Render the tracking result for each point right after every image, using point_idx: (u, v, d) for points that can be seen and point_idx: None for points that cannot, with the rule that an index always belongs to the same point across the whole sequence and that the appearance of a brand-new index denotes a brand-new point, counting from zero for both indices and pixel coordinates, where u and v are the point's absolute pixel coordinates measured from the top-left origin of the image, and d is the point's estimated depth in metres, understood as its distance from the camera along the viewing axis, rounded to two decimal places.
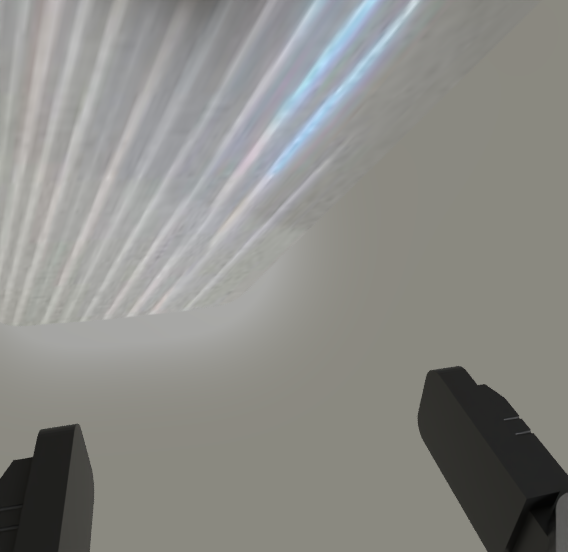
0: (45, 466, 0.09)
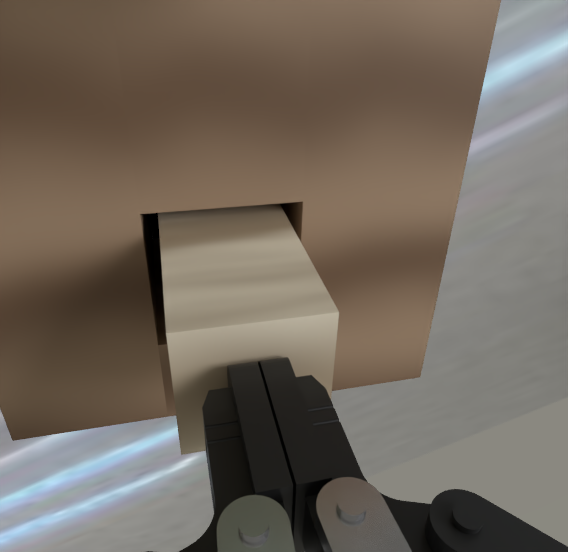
0: (246, 391, 0.11)
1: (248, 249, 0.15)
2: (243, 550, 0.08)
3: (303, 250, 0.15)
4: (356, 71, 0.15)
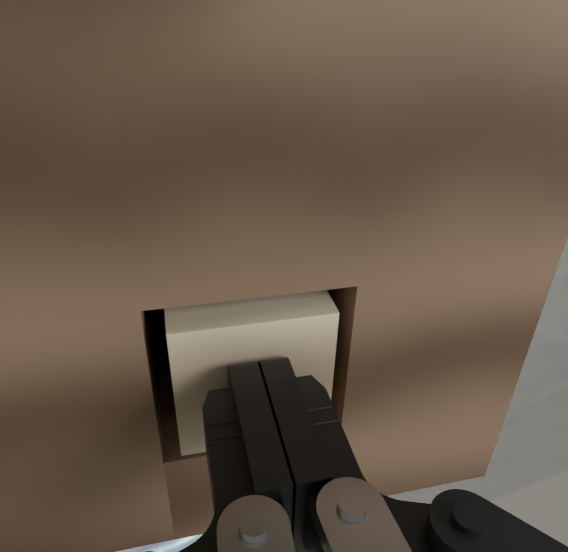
0: (246, 391, 0.11)
1: None
2: (243, 550, 0.08)
3: None
4: (441, 119, 0.11)
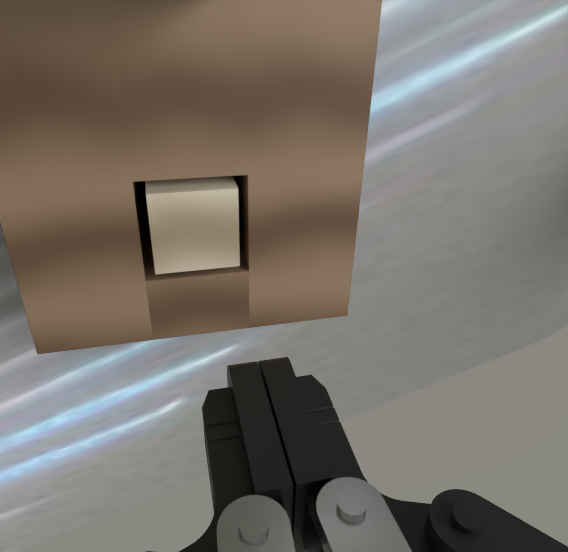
0: (246, 391, 0.11)
1: None
2: (243, 550, 0.08)
3: None
4: (280, 83, 0.21)
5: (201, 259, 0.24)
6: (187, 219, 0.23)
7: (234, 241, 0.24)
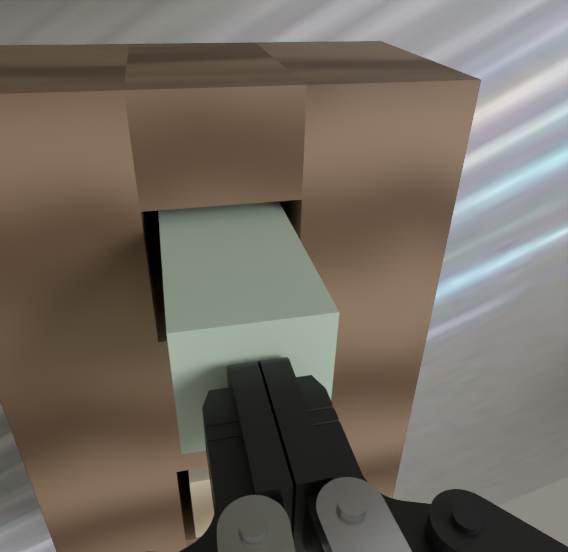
0: (246, 391, 0.11)
1: None
2: (243, 550, 0.08)
3: None
4: None
5: None
6: None
7: None
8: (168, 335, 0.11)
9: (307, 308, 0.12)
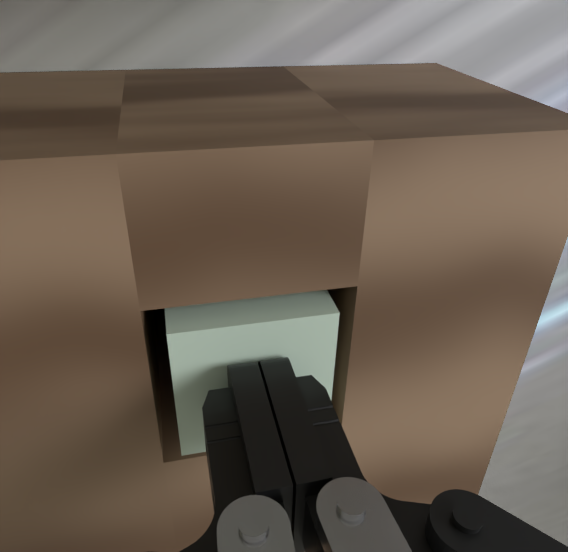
0: (246, 391, 0.11)
1: None
2: (243, 550, 0.08)
3: None
4: None
5: None
6: None
7: None
8: (168, 336, 0.11)
9: (307, 308, 0.12)
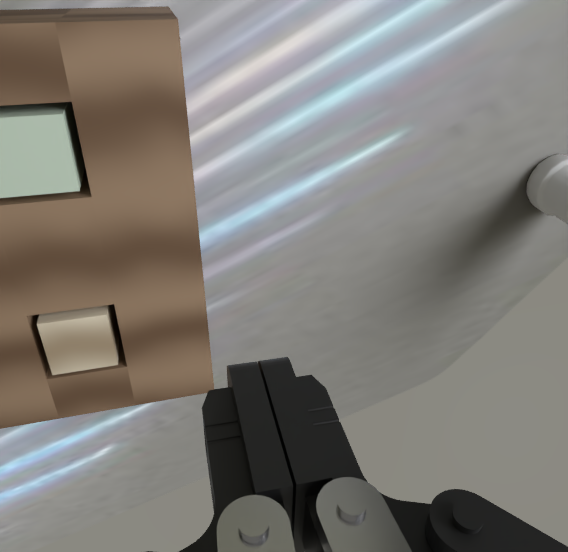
0: (246, 391, 0.11)
1: None
2: (243, 550, 0.08)
3: None
4: (127, 245, 0.30)
5: (86, 362, 0.33)
6: (71, 337, 0.32)
7: (110, 348, 0.33)
8: None
9: (48, 113, 0.25)
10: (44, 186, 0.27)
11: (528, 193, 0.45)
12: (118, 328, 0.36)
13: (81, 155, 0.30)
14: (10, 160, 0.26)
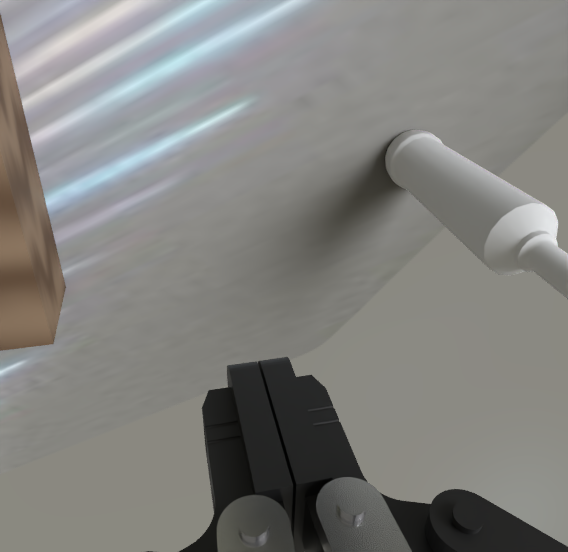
0: (246, 391, 0.11)
1: None
2: (243, 550, 0.08)
3: None
4: None
5: None
6: None
7: None
8: None
9: None
10: None
11: (386, 167, 0.46)
12: None
13: None
14: None
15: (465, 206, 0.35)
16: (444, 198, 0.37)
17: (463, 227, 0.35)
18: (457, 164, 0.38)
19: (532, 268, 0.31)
